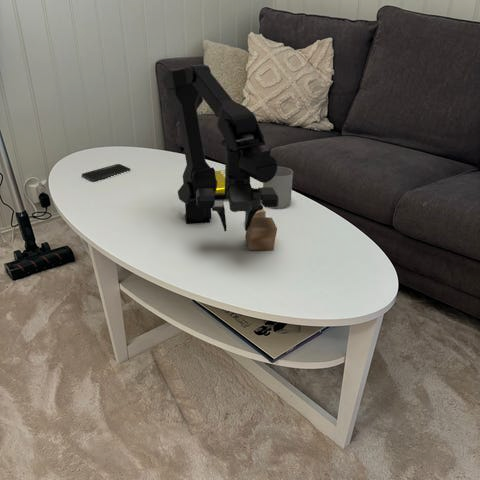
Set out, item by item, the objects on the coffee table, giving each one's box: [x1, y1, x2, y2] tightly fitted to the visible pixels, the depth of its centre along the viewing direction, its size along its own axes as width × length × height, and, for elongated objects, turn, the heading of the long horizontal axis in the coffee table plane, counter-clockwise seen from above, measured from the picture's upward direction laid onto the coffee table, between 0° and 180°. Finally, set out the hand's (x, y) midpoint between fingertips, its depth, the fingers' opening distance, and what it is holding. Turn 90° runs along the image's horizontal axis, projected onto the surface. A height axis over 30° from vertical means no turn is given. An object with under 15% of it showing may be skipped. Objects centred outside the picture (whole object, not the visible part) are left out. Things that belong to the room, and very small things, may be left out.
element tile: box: [215, 169, 225, 193], centre depth 146 cm, size 15×15×5 cm
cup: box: [262, 166, 294, 210], centre depth 137 cm, size 8×8×10 cm
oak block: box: [244, 208, 267, 217], centre depth 125 cm, size 4×4×5 cm
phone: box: [81, 163, 131, 183], centre depth 159 cm, size 8×1×15 cm
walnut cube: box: [244, 216, 278, 251], centre depth 115 cm, size 6×6×6 cm
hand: (235, 230), depth 113 cm, fingers open, 5 cm apart
